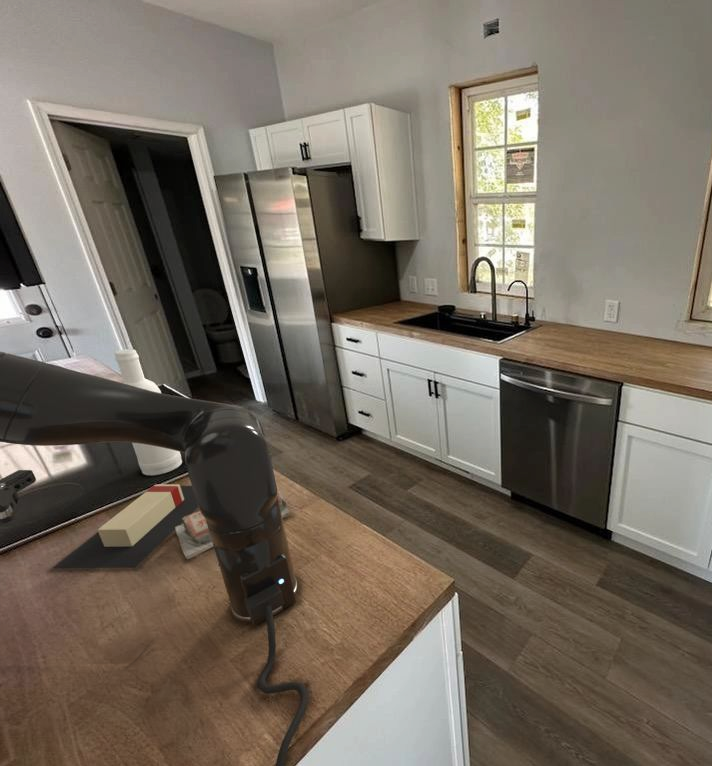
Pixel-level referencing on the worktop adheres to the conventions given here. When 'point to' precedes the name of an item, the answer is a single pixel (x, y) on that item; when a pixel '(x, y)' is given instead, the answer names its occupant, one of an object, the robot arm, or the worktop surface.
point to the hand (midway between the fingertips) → (28, 475)
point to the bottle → (148, 456)
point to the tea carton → (141, 515)
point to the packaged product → (205, 531)
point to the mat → (132, 556)
